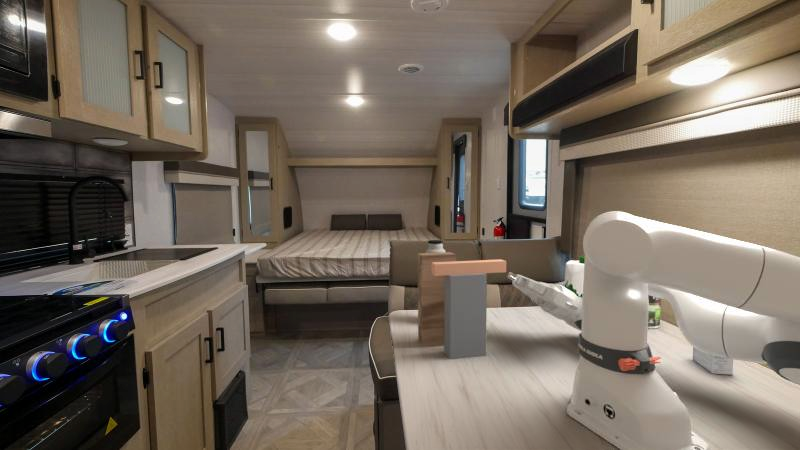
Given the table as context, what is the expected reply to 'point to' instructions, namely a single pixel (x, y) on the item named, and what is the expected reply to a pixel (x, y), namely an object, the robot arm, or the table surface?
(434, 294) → the walnut post
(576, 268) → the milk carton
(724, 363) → the medicine box
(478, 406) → the table surface
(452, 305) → the gray block
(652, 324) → the coffee can
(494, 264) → the rail
